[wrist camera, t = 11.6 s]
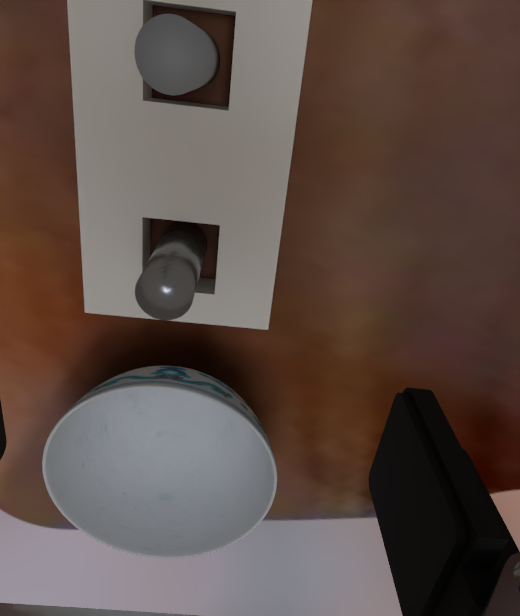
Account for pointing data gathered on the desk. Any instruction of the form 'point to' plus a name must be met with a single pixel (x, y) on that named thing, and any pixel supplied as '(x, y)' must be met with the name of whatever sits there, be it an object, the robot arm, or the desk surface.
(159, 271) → the steel pin
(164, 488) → the chinaware
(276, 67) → the pin board
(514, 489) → the desk surface
